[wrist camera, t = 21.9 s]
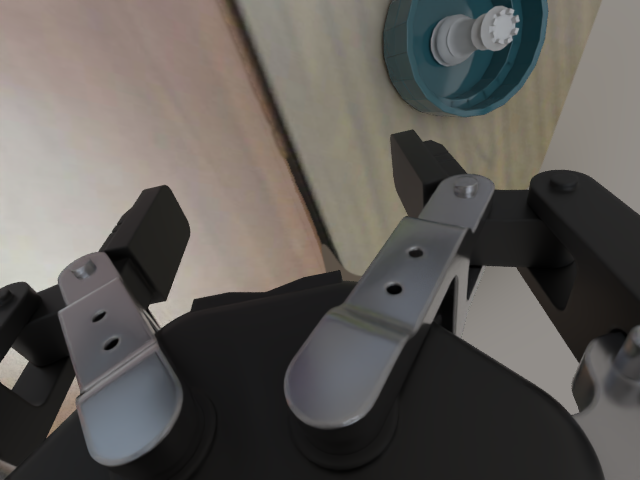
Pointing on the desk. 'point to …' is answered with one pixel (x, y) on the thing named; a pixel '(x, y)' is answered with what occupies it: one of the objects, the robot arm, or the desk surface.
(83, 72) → the desk surface
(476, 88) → the bowl
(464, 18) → the rook chess piece
